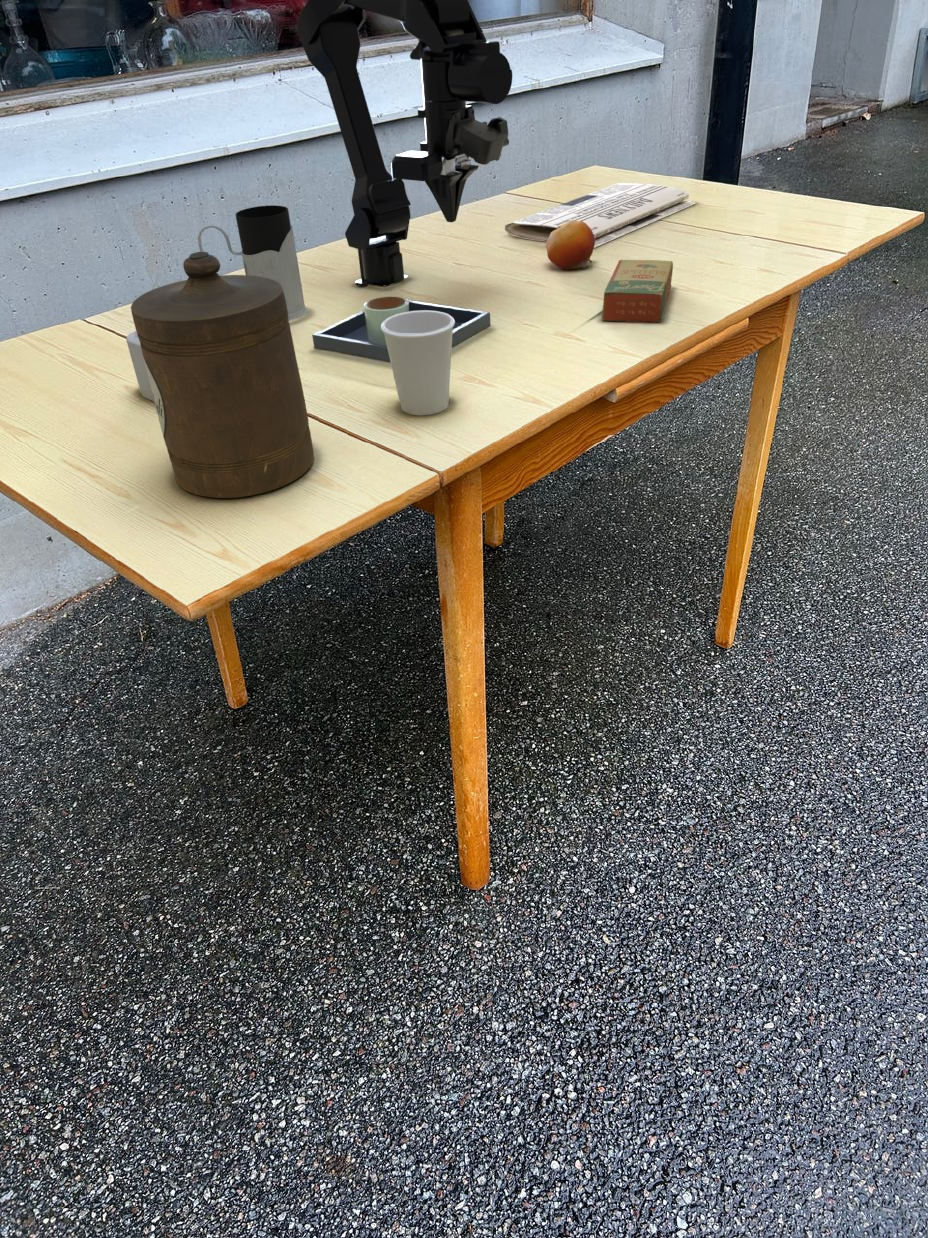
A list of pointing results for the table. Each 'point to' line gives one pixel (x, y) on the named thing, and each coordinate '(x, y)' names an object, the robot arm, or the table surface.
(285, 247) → the glass holder
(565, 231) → the fruit
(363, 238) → the robot arm
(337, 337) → the tray
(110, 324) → the table surface
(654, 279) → the carton
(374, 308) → the teacup
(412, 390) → the dixie cup
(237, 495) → the wooden container
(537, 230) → the newspaper
